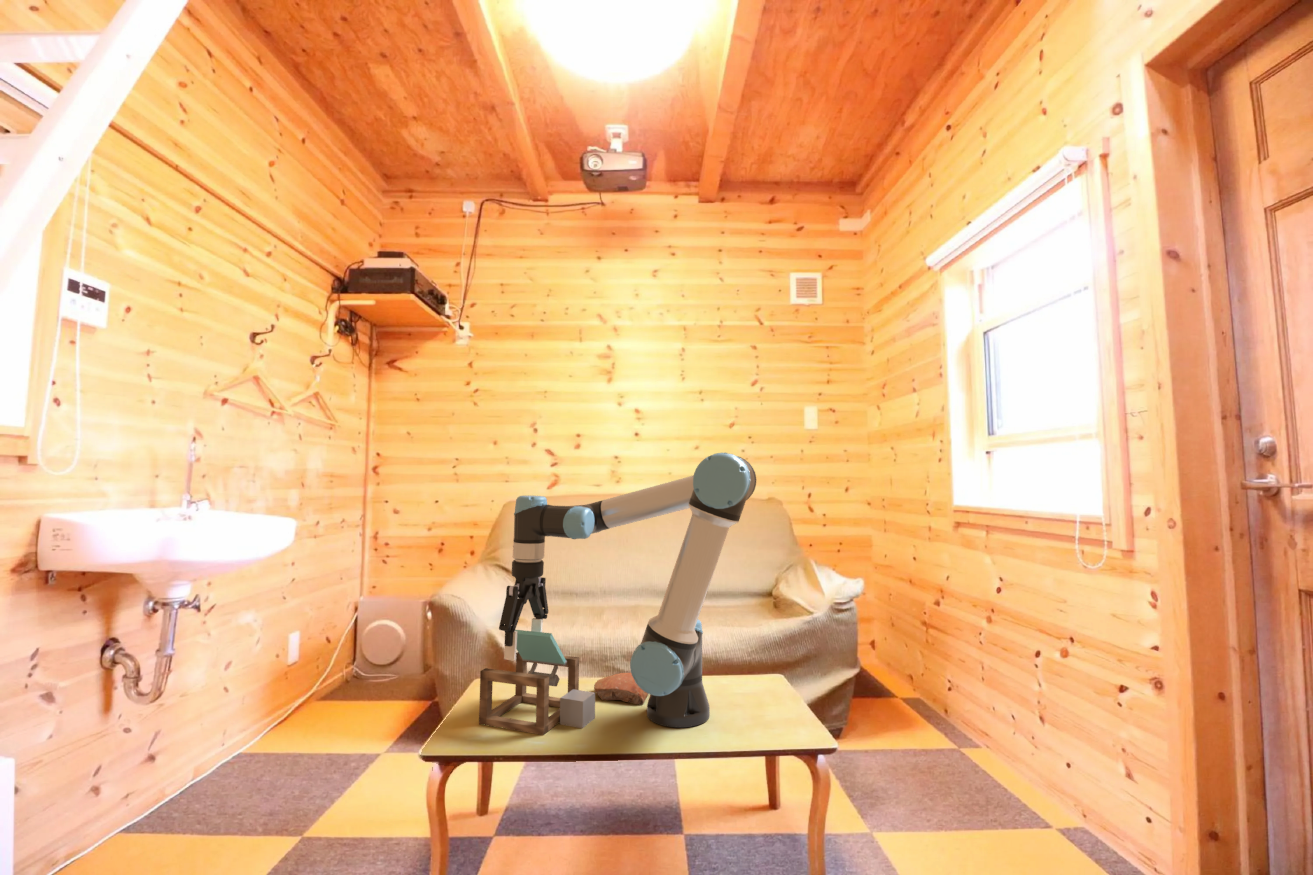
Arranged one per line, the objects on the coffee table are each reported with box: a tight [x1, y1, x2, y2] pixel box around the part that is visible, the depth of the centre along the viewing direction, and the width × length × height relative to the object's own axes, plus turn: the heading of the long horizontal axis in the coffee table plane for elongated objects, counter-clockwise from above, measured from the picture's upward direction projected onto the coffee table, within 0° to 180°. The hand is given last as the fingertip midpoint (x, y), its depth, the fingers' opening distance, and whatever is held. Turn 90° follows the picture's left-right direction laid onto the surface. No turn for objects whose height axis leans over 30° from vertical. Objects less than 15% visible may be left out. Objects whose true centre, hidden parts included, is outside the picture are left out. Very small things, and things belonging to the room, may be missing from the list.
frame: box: [478, 651, 580, 736], centre depth 137 cm, size 17×17×12 cm
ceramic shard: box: [593, 672, 649, 706], centre depth 151 cm, size 15×6×15 cm
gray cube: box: [559, 689, 596, 729], centre depth 133 cm, size 6×6×6 cm
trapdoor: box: [515, 629, 567, 688], centre depth 139 cm, size 12×15×5 cm
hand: (523, 652), depth 136 cm, fingers open, 11 cm apart
